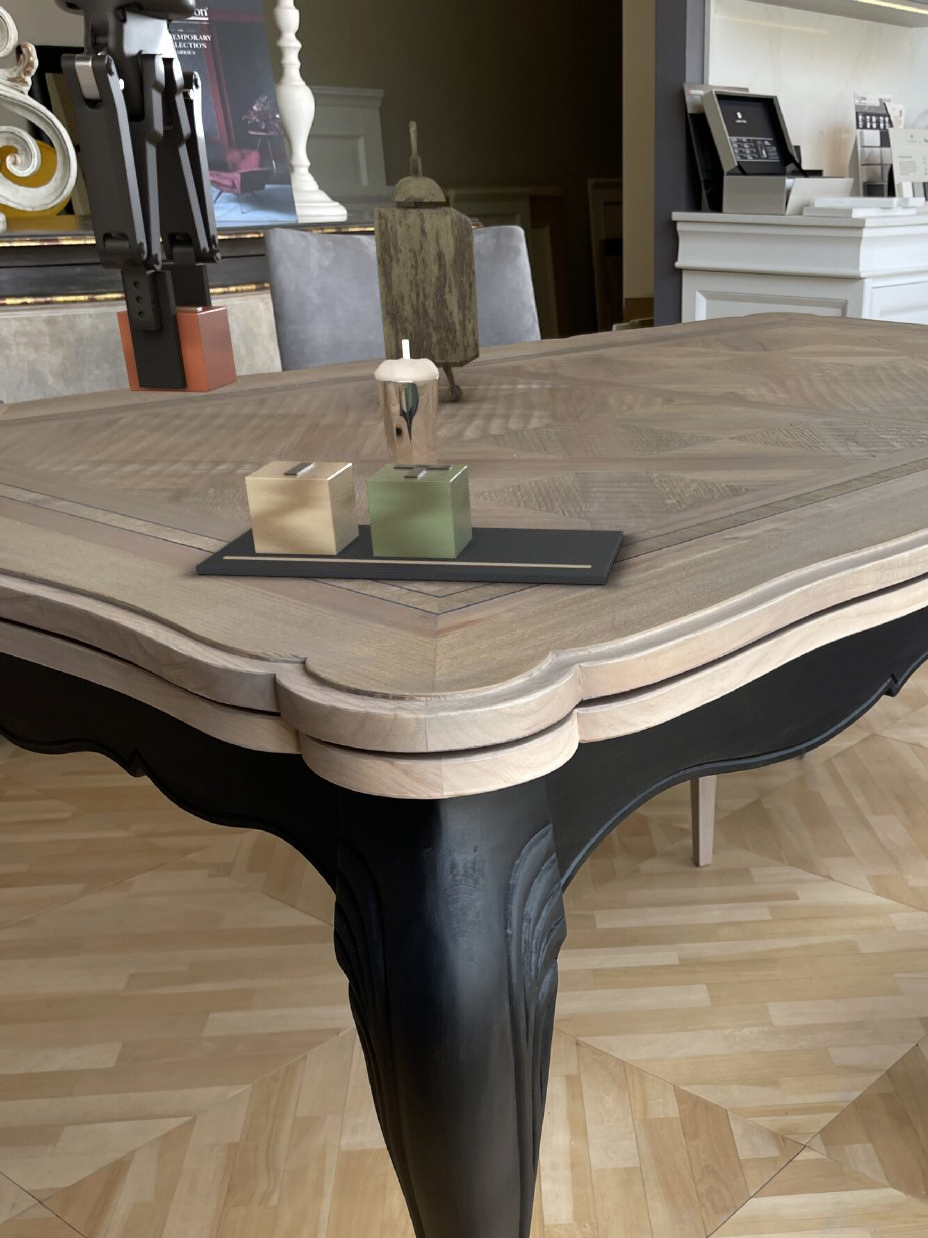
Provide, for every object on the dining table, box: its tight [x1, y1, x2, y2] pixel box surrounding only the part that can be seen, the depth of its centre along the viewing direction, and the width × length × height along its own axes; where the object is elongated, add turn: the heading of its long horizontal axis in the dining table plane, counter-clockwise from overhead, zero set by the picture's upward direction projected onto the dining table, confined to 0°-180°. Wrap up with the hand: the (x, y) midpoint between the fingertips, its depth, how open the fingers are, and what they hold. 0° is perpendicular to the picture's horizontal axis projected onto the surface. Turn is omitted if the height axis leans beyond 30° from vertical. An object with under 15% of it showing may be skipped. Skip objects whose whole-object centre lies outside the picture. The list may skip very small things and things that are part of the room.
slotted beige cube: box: [244, 460, 359, 555], centre depth 80 cm, size 5×5×5 cm
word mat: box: [195, 524, 624, 586], centre depth 80 cm, size 24×11×1 cm, turn 86°
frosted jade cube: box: [365, 462, 473, 559], centre depth 79 cm, size 5×5×5 cm
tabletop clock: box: [373, 120, 480, 402], centre depth 129 cm, size 14×9×25 cm, turn 9°
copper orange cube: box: [116, 305, 238, 393], centre depth 82 cm, size 5×5×5 cm
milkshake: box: [373, 340, 440, 464], centre depth 95 cm, size 4×5×10 cm
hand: (181, 380), depth 83 cm, fingers closed on copper orange cube, 5 cm apart
